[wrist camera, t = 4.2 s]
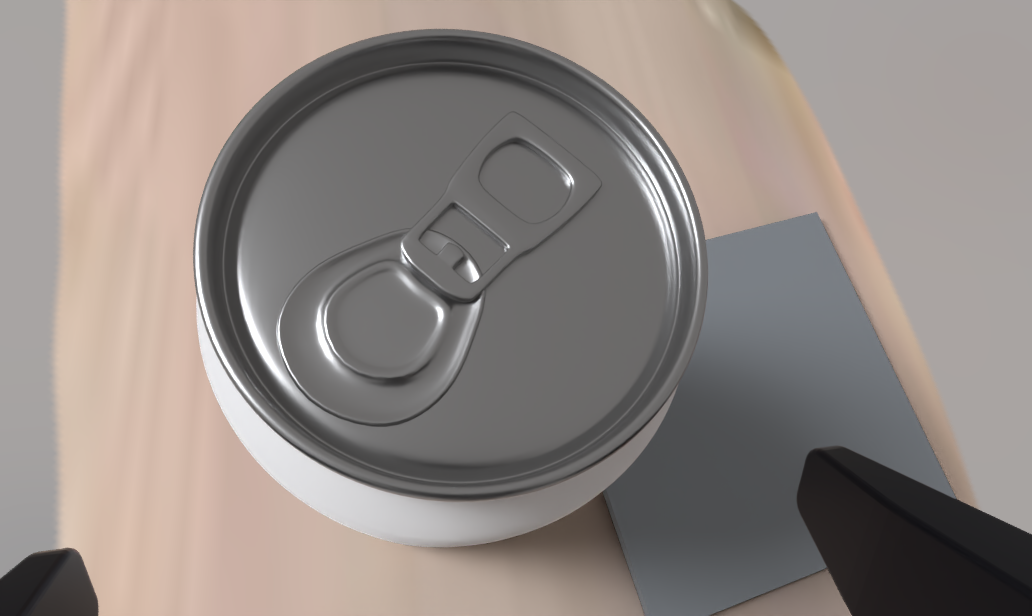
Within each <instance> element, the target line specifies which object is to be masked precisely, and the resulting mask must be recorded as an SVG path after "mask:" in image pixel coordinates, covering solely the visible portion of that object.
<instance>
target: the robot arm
mask: <svg viewBox="0 0 1032 616" xmlns="http://www.w3.org/2000/svg"><path fill="white" fill-rule="evenodd" d="M797 507H798V510H799V513H800V515H801V517H802V519H803V521H804V523H805V525H806V527H807V529H808V531H809V533H810V535H811V537H812V539H813V541H814V543H815V545H816V547H817V549H818V551H819V553H820V555H821V557H822V559H823V561H824V563H825V564H826V566H827V568H828V570H829V572H830V574H831V576H832V578H833V580H834V582H835V584H836V586H837V588H838V590H839V592H840V594H841V596H842V598H843V600H844V602H845V604H846V605H847V607H848V609H849V611H850V613H851V615H852V616H1032V534H1029V533H1027V532H1025V531H1023V530H1021V529H1019V528H1017V527H1014V526H1012V525H1010V524H1008V523H1006V522H1004V521H1002V520H1000V519H997V518H995V517H993V516H991V515H989V514H987V513H985V512H982V511H980V510H978V509H976V508H974V507H972V506H970V505H968V504H965V503H963V502H961V501H959V500H957V499H955V498H953V497H950V496H948V495H946V494H944V493H942V492H940V491H938V490H936V489H933V488H931V487H929V486H927V485H925V484H923V483H921V482H918V481H916V480H914V479H912V478H910V477H908V476H906V475H904V474H901V473H899V472H897V471H895V470H893V469H891V468H889V467H886V466H884V465H882V464H880V463H878V462H876V461H874V460H872V459H869V458H867V457H865V456H863V455H861V454H859V453H857V452H854V451H852V450H850V449H848V448H846V447H843V446H839V445H834V446H826V447H819V448H814V449H812V450H811V451H810V452H809V453H808V454H807V456H806V459H805V463H804V467H803V471H802V475H801V479H800V483H799V486H798V490H797ZM0 616H98V600H97V596H96V593H95V591H94V588H93V586H92V583H91V580H90V578H89V575H88V573H87V570H86V567H85V565H84V562H83V560H82V557H81V555H80V554H79V552H78V551H77V550H75V549H72V548H63V549H56V550H48V551H41V552H37V553H33V554H31V555H29V556H28V557H26V558H25V559H24V560H22V561H21V562H20V563H19V564H18V565H16V566H15V567H14V568H13V569H12V570H10V571H9V572H8V573H7V574H6V575H4V576H3V577H2V578H1V579H0Z"/></svg>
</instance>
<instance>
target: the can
mask: <svg viewBox="0 0 1032 616" xmlns="http://www.w3.org/2000/svg"><path fill="white" fill-rule="evenodd" d="M193 265H194V279H195V287H196V294H197V305H196V309H197V328H198V336H199V344H200V349H201V354H202V358H203V362H204V366H205V369H206V372H207V376H208V379H209V382H210V384H211V387H212V389H213V392H214V394H215V396H216V399H217V401H218V403H219V405H220V407H221V409H222V411H223V413H224V415H225V417H226V418H227V420H228V422H229V423H230V425H231V427H232V428H233V430H234V431H235V433H236V434H237V436H238V437H239V439H240V440H241V442H242V443H243V445H244V446H245V447H246V449H247V450H248V451H249V452H250V454H251V455H252V456H253V457H254V458H255V460H256V461H257V462H258V463H259V464H260V465H261V466H262V467H263V468H264V470H265V471H266V472H267V473H268V474H269V475H271V476H272V477H273V478H274V479H275V480H276V481H277V482H278V483H279V484H280V485H282V486H283V487H284V488H285V489H286V490H288V491H289V492H290V493H291V494H293V495H294V496H295V497H297V498H298V499H300V500H301V501H303V502H304V503H305V504H307V505H308V506H310V507H311V508H313V509H315V510H316V511H318V512H320V513H321V514H323V515H325V516H327V517H328V518H330V519H332V520H334V521H336V522H338V523H340V524H342V525H344V526H347V527H349V528H351V529H354V530H356V531H359V532H361V533H364V534H367V535H370V536H372V537H376V538H379V539H382V540H386V541H390V542H394V543H399V544H404V545H411V546H420V547H460V546H471V545H479V544H485V543H491V542H496V541H500V540H504V539H508V538H511V537H515V536H518V535H522V534H525V533H528V532H531V531H533V530H536V529H539V528H541V527H544V526H546V525H548V524H550V523H553V522H555V521H557V520H559V519H561V518H563V517H565V516H566V515H568V514H570V513H572V512H573V511H575V510H577V509H578V508H580V507H582V506H583V505H585V504H586V503H587V502H589V501H590V500H592V499H593V498H594V497H596V496H597V495H598V494H600V493H601V492H602V491H603V490H605V489H606V488H607V487H608V486H609V485H611V484H612V483H613V482H614V481H615V480H616V479H617V478H618V477H620V476H621V475H622V474H623V473H624V472H625V471H626V470H627V469H628V468H629V466H630V465H631V464H632V463H633V462H634V461H635V460H636V459H637V457H638V456H639V455H640V454H641V452H642V451H643V450H644V449H645V447H646V446H647V445H648V443H649V442H650V440H651V439H652V437H653V436H654V434H655V433H656V431H657V429H658V428H659V426H660V424H661V422H662V421H663V419H664V417H665V415H666V413H667V411H668V409H669V407H670V404H671V402H672V400H673V397H674V395H675V392H676V389H677V386H678V383H679V382H680V380H681V378H682V376H683V374H684V372H685V370H686V368H687V366H688V364H689V362H690V359H691V357H692V355H693V352H694V350H695V347H696V344H697V341H698V338H699V334H700V331H701V327H702V323H703V319H704V313H705V308H706V300H707V290H708V259H707V248H706V241H705V235H704V230H703V225H702V221H701V217H700V214H699V210H698V207H697V204H696V201H695V198H694V195H693V193H692V190H691V188H690V186H689V183H688V181H687V179H686V177H685V175H684V173H683V171H682V169H681V167H680V165H679V163H678V161H677V160H676V158H675V156H674V155H673V153H672V152H671V150H670V149H669V147H668V146H667V144H666V143H665V141H664V140H663V138H662V137H661V136H660V134H659V133H658V132H657V131H656V129H655V128H654V127H653V126H652V124H651V123H650V122H649V121H648V120H647V119H646V118H645V117H644V116H643V115H642V113H641V112H640V111H639V110H638V109H637V108H636V107H635V106H634V105H633V104H631V103H630V102H629V101H628V100H627V99H626V98H625V97H624V96H623V95H621V94H620V93H619V92H618V91H617V90H615V89H614V88H613V87H612V86H610V85H609V84H607V83H606V82H605V81H603V80H602V79H600V78H599V77H598V76H596V75H595V74H593V73H591V72H590V71H588V70H587V69H585V68H583V67H581V66H580V65H578V64H576V63H574V62H572V61H571V60H569V59H567V58H565V57H562V56H560V55H558V54H556V53H554V52H551V51H549V50H547V49H544V48H541V47H539V46H536V45H533V44H530V43H527V42H524V41H521V40H517V39H514V38H510V37H506V36H501V35H497V34H491V33H485V32H479V31H471V30H459V29H423V30H411V31H403V32H396V33H391V34H386V35H381V36H377V37H372V38H369V39H365V40H362V41H358V42H355V43H352V44H349V45H347V46H344V47H342V48H339V49H337V50H334V51H332V52H330V53H328V54H325V55H323V56H321V57H319V58H317V59H316V60H314V61H312V62H310V63H308V64H307V65H305V66H303V67H302V68H300V69H298V70H297V71H295V72H294V73H292V74H291V75H289V76H288V77H287V78H285V79H284V80H283V81H281V82H280V83H279V84H277V85H276V86H275V87H274V88H272V89H271V90H270V91H269V92H268V93H267V94H266V95H265V96H263V97H262V98H261V99H260V100H259V101H258V102H257V103H256V104H255V105H254V106H253V108H252V109H251V110H250V111H249V112H248V113H247V114H246V115H245V117H244V118H243V119H242V120H241V122H240V123H239V124H238V125H237V127H236V128H235V129H234V131H233V132H232V134H231V135H230V137H229V138H228V140H227V141H226V143H225V145H224V146H223V148H222V150H221V151H220V153H219V155H218V157H217V159H216V161H215V163H214V165H213V167H212V170H211V172H210V174H209V177H208V179H207V182H206V185H205V188H204V191H203V194H202V197H201V201H200V205H199V209H198V214H197V219H196V226H195V233H194V247H193Z"/></svg>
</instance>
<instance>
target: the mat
mask: <svg viewBox="0 0 1032 616" xmlns="http://www.w3.org/2000/svg"><path fill="white" fill-rule="evenodd" d="M705 241H706V248H707V259H708V290H707V300H706V308H705V313H704V319H703V323H702V327H701V331H700V334H699V338H698V341H697V344H696V347H695V350H694V352H693V355H692V357H691V359H690V362H689V364H688V366H687V368H686V370H685V372H684V374H683V376H682V378H681V380H680V382H679V383H678V386H677V389H676V392H675V395H674V397H673V400H672V402H671V404H670V407H669V409H668V411H667V413H666V415H665V417H664V419H663V421H662V422H661V424H660V426H659V428H658V429H657V431H656V433H655V434H654V436H653V437H652V439H651V440H650V442H649V443H648V445H647V446H646V447H645V449H644V450H643V451H642V452H641V454H640V455H639V456H638V457H637V459H636V460H635V461H634V462H633V463H632V464H631V465H630V466H629V468H628V469H627V470H626V471H625V472H624V473H623V474H622V475H621V476H620V477H618V478H617V479H616V480H615V481H614V482H613V483H612V484H611V485H609V486H608V487H607V488H606V489H605V490H603V491H602V492H603V495H604V497H605V500H606V503H607V506H608V509H609V512H610V515H611V518H612V521H613V524H614V526H615V529H616V532H617V535H618V538H619V541H620V544H621V547H622V550H623V553H624V555H625V558H626V561H627V564H628V567H629V570H630V573H631V576H632V579H633V582H634V585H635V587H636V590H637V593H638V596H639V599H640V602H641V605H642V608H643V611H644V614H645V616H709V615H712V614H714V613H717V612H719V611H721V610H724V609H726V608H729V607H731V606H734V605H736V604H739V603H741V602H744V601H746V600H749V599H751V598H754V597H756V596H759V595H761V594H764V593H766V592H768V591H771V590H773V589H776V588H778V587H781V586H783V585H786V584H788V583H791V582H793V581H796V580H798V579H801V578H803V577H806V576H808V575H811V574H813V573H815V572H818V571H820V570H823V569H825V568H827V566H826V564H825V563H824V561H823V559H822V557H821V555H820V553H819V551H818V549H817V547H816V545H815V543H814V541H813V539H812V537H811V535H810V533H809V531H808V529H807V527H806V525H805V523H804V521H803V519H802V517H801V515H800V513H799V510H798V507H797V490H798V486H799V483H800V479H801V475H802V471H803V467H804V463H805V459H806V456H807V454H808V453H809V452H810V451H811V450H812V449H814V448H819V447H826V446H834V445H839V446H843V447H846V448H848V449H850V450H852V451H854V452H857V453H859V454H861V455H863V456H865V457H867V458H869V459H872V460H874V461H876V462H878V463H880V464H882V465H884V466H886V467H889V468H891V469H893V470H895V471H897V472H899V473H901V474H904V475H906V476H908V477H910V478H912V479H914V480H916V481H918V482H921V483H923V484H925V485H927V486H929V487H931V488H933V489H936V490H938V491H940V492H942V493H944V494H946V495H948V496H950V497H953V498H955V499H956V497H955V495H954V493H953V491H952V489H951V487H950V485H949V482H948V480H947V478H946V476H945V474H944V472H943V470H942V468H941V466H940V464H939V462H938V460H937V458H936V456H935V454H934V452H933V450H932V448H931V446H930V444H929V441H928V439H927V437H926V435H925V433H924V431H923V429H922V427H921V425H920V423H919V421H918V419H917V417H916V415H915V413H914V411H913V409H912V407H911V405H910V402H909V400H908V398H907V396H906V394H905V392H904V390H903V388H902V386H901V384H900V382H899V380H898V378H897V376H896V374H895V372H894V370H893V368H892V366H891V364H890V361H889V359H888V357H887V355H886V353H885V351H884V349H883V347H882V345H881V343H880V341H879V339H878V337H877V335H876V333H875V331H874V329H873V327H872V325H871V322H870V320H869V318H868V316H867V314H866V312H865V310H864V308H863V306H862V304H861V302H860V300H859V298H858V296H857V294H856V292H855V290H854V288H853V286H852V283H851V281H850V279H849V277H848V275H847V273H846V271H845V269H844V267H843V265H842V263H841V261H840V259H839V257H838V255H837V253H836V251H835V249H834V247H833V245H832V242H831V240H830V238H829V236H828V234H827V232H826V230H825V228H824V226H823V224H822V222H821V220H820V218H819V216H818V214H817V212H815V213H811V214H807V215H803V216H799V217H796V218H792V219H788V220H784V221H780V222H776V223H772V224H768V225H764V226H760V227H756V228H752V229H748V230H744V231H740V232H736V233H732V234H728V235H724V236H720V237H716V238H712V239H708V240H705Z"/></svg>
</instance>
